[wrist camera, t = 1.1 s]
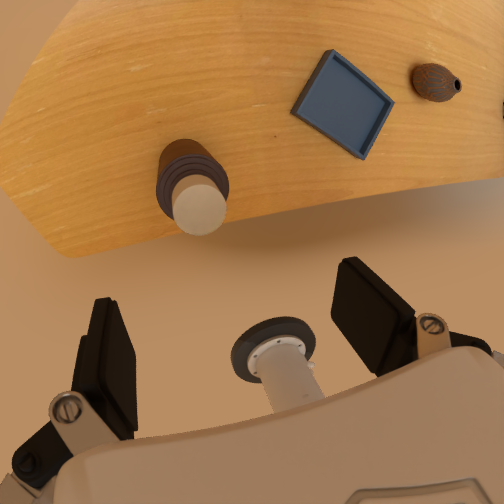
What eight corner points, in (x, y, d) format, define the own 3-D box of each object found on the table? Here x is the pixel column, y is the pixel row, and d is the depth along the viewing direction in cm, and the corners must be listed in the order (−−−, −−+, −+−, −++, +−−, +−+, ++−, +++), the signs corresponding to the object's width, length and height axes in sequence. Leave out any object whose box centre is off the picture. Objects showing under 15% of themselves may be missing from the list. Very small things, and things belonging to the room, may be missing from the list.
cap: (227, 185, 23) (236, 197, 21) (207, 226, 24) (213, 242, 22) (183, 166, 22) (186, 176, 19) (164, 210, 23) (164, 225, 20)
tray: (386, 101, 39) (395, 102, 37) (356, 158, 42) (364, 160, 40) (326, 50, 33) (333, 48, 31) (289, 112, 36) (295, 113, 35)
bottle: (217, 151, 36) (258, 186, 21) (195, 194, 38) (219, 260, 23) (172, 131, 34) (177, 149, 18) (151, 176, 35) (141, 232, 20)
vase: (425, 107, 41) (462, 114, 33) (402, 85, 38) (441, 89, 31) (435, 78, 38) (472, 82, 31) (413, 55, 36) (451, 55, 28)
